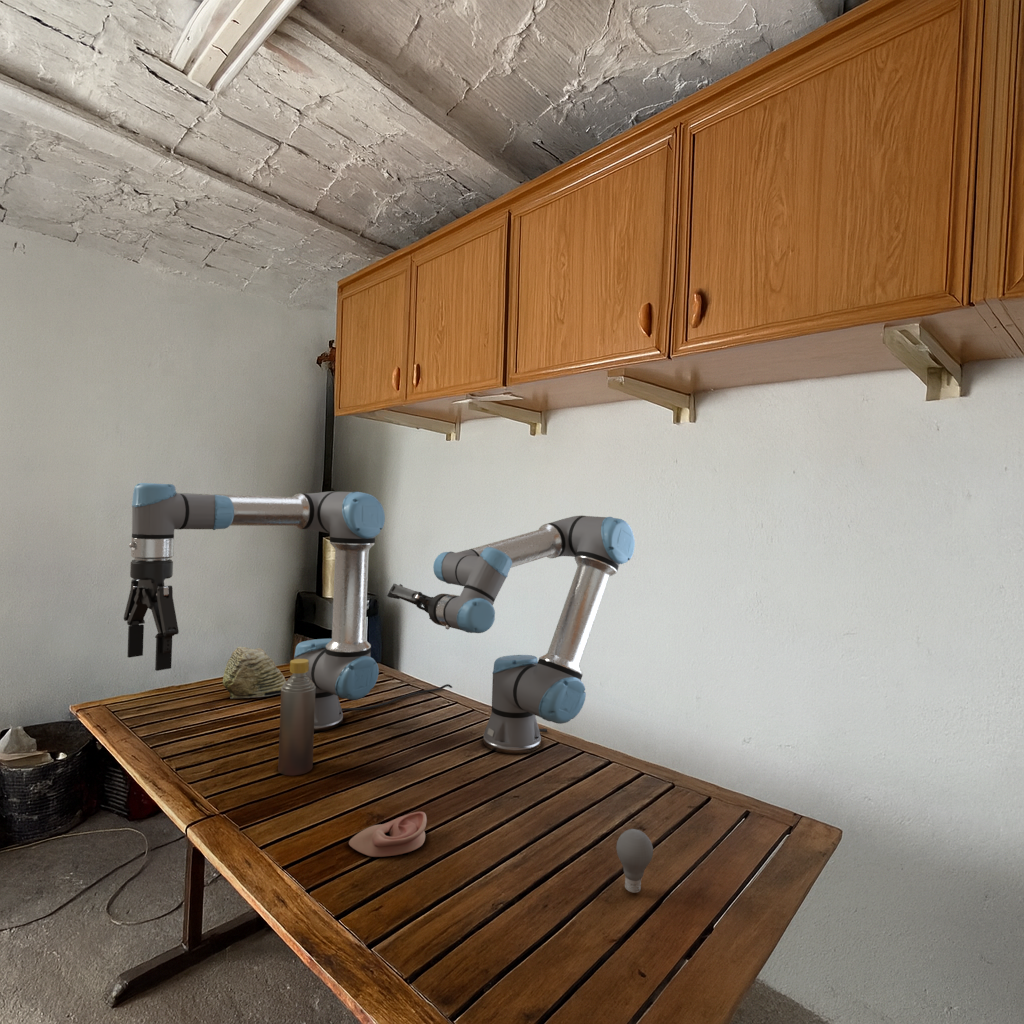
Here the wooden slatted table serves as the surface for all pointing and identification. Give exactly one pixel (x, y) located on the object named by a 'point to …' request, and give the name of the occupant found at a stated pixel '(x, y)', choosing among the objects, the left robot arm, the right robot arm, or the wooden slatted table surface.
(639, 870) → the light bulb
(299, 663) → the cap
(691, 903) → the wooden slatted table surface
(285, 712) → the bottle
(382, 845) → the anatomical model
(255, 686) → the fossil
